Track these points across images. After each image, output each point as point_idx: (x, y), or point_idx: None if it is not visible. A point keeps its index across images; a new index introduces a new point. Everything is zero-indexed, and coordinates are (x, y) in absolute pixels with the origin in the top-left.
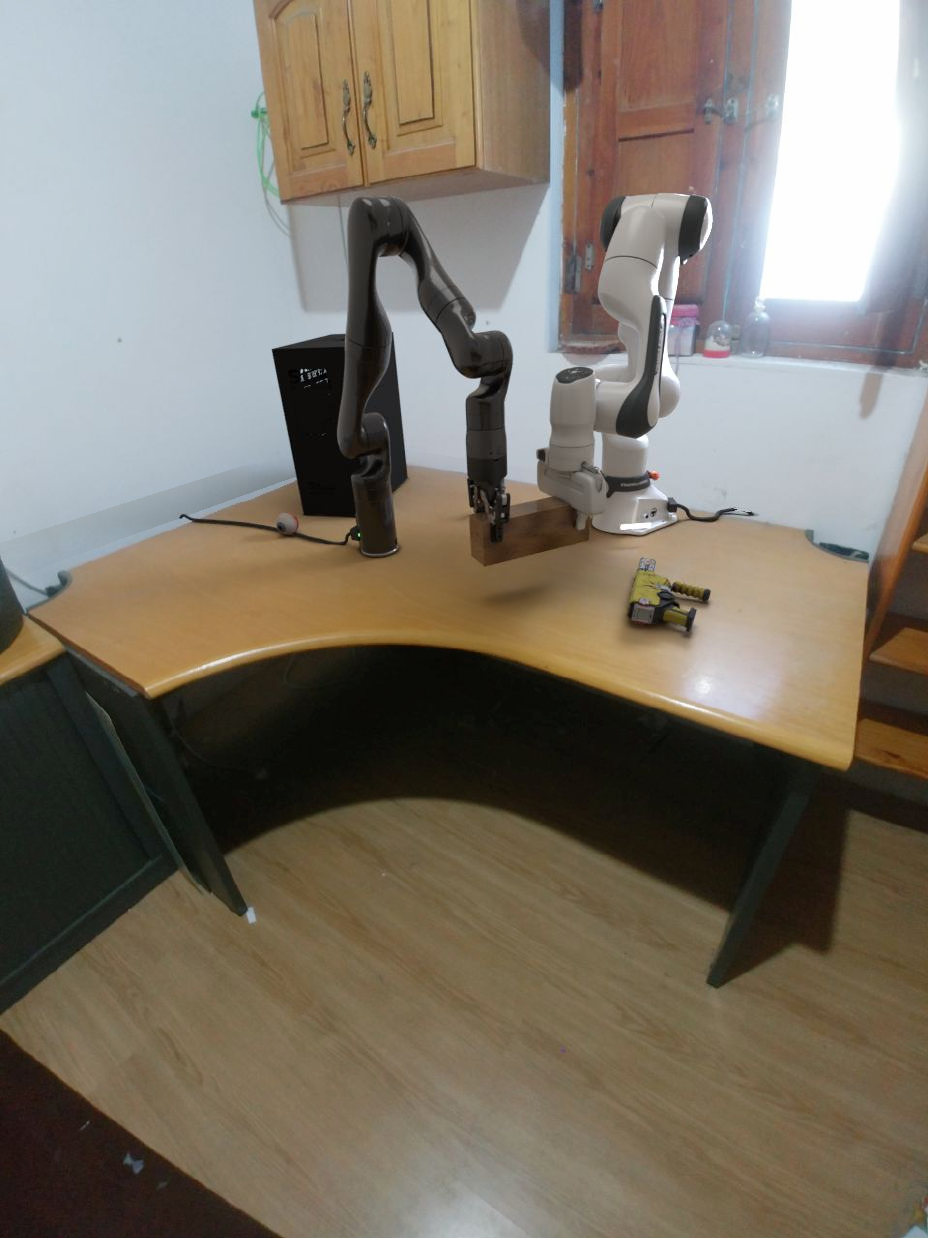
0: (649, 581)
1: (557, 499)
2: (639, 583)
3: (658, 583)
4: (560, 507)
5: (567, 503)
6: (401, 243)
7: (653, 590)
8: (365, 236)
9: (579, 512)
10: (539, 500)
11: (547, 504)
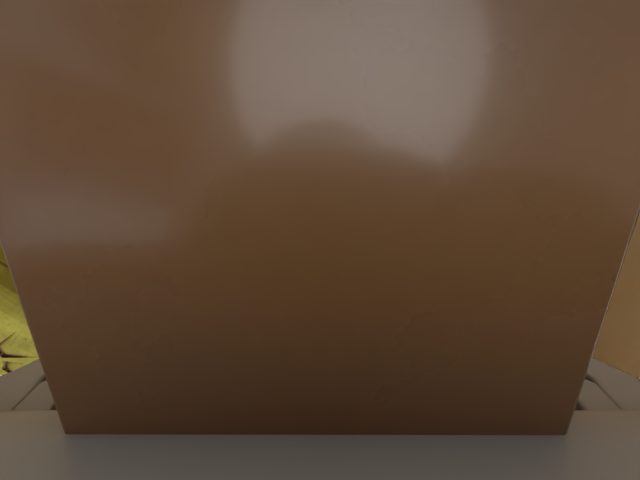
0: (25, 356)
1: (391, 392)
2: (2, 319)
3: (12, 370)
4: (6, 241)
5: (131, 418)
6: None
7: None
8: None
9: (2, 403)
10: (607, 73)
11: (250, 87)
